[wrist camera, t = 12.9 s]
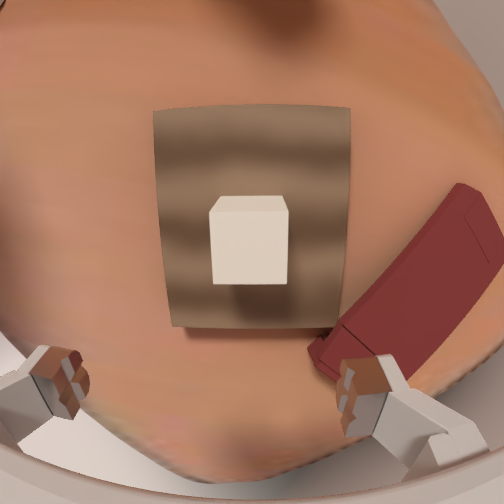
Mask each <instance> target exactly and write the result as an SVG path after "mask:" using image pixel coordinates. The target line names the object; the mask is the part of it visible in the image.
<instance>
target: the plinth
mask: <svg viewBox="0 0 504 504" xmlns="http://www.w3.org/2000/svg"><path fill="white" fill-rule="evenodd" d="M153 125H154V154H155V173H156V189H157V202H158V215H159V226H160V236H161V246H162V255H163V264H164V272H165V280H166V288H167V295H168V302H169V309H170V316H171V322H172V327H191V328H230V329H285V328H324V327H335V325H336V324H337V320H338V312H339V304H340V296H341V287H342V278H343V268H344V258H345V246H346V233H347V219H348V202H349V180H350V132H351V122H350V108H344V107H331V106H314V105H284V104H250V105H220V106H203V107H189V108H178V109H168V110H159V111H153ZM220 196H283V199H284V201H285V204H286V206H287V209H288V211H289V213H288V260H287V284H213V273H212V257H211V240H210V221H209V212H210V210H211V209H212V207H213V206H214V205H215V203H216V202H217V200H218V199H219V198H220Z"/></svg>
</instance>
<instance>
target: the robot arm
mask: <svg viewBox="0 0 504 504" xmlns="http://www.w3.org/2000/svg"><path fill="white" fill-rule="evenodd" d="M3 1H4V0H0V5H1V4H2V3H3ZM82 361H83V360H82V357H81V355H80V353H79V352H78V351H76V350H71V349H65V348H60V347H55V346H49V345H44V344H42V345H39V346H38V347H37V348H36V349H35V350H34V352H33V353H32V354H31V355H30V356H29V357H28V359H27V360H26V361H25V362H24V363H23V365H22V366H21V367H20V368H19V369H18V370H17V371H15V370H14V371H11V372H9V373H7V374H5V375H3V376H1V377H0V504H504V446H503V447H501V448H498V449H496V450H494V451H492V452H490V450H489V448H488V446H487V444H486V443H485V441H484V439H483V437H482V435H481V434H480V432H479V430H478V428H477V427H476V425H475V423H474V422H473V421H471V420H469V419H467V418H466V417H464V416H462V415H460V414H459V413H457V412H455V411H453V410H451V409H450V408H448V407H446V406H445V405H443V404H441V403H439V402H438V401H436V400H434V399H432V398H431V397H429V396H427V395H425V394H424V393H422V392H420V391H419V390H417V389H415V388H413V389H410V387H409V385H408V383H407V382H406V380H405V378H404V376H403V374H402V372H401V370H400V368H399V367H398V365H397V363H396V361H395V359H394V357H393V356H392V355H391V354H386V355H378V356H374V357H363V358H353V359H342V362H341V365H340V369H339V370H340V373H341V378H340V379H339V380H338V381H337V386H336V403H337V408H338V410H339V411H340V412H341V413H343V414H342V418H341V424H342V428H343V432H344V436H345V437H355V436H364V435H371V434H373V435H372V436H373V437H374V438H375V439H377V440H378V441H379V442H380V443H381V444H382V445H383V446H384V447H385V448H386V449H387V450H389V451H390V452H391V453H392V454H393V455H394V456H395V457H396V458H397V459H399V460H400V461H401V462H402V463H403V464H404V465H405V466H406V467H408V468H409V469H410V470H409V471H408V473H407V474H406V476H405V477H404V478H403V480H402V481H401V483H397V484H392V485H388V486H383V487H379V488H374V489H368V490H364V491H357V492H351V493H345V494H337V495H330V496H321V497H312V498H298V499H281V500H280V499H279V500H235V499H234V500H233V499H214V498H202V497H192V496H183V495H175V494H168V493H162V492H155V491H149V490H144V489H139V488H134V487H129V486H125V485H120V484H116V483H112V482H108V481H104V480H100V479H96V478H92V477H89V476H86V475H82V474H79V473H76V472H73V471H70V470H67V469H64V468H61V467H58V466H55V465H53V464H50V463H47V462H44V461H42V460H40V459H37V458H34V457H32V456H30V455H27V454H25V453H23V451H22V450H21V448H20V447H19V446H18V445H17V443H18V442H19V441H21V440H22V439H23V438H25V437H26V436H28V435H29V434H30V433H32V432H33V431H34V430H36V429H37V428H39V427H40V426H41V425H43V424H44V423H45V422H46V421H48V420H49V419H51V418H52V417H53V416H57V417H61V418H65V419H69V420H73V419H74V417H75V416H76V414H77V412H78V410H79V408H80V403H79V401H80V400H82V399H84V398H86V396H87V394H88V392H89V386H90V380H89V375H88V373H87V371H86V370H85V369H84V368H83V367H82V366H81V364H82ZM52 415H53V416H52Z"/></svg>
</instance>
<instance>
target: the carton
mask: <svg viewBox="0 0 504 504" xmlns="http://www.w3.org/2000/svg"><path fill="white" fill-rule="evenodd" d="M503 264H504V237H503V235H502V232H501V230H500V228H499V226H498V224H497V222H496V220H495V218H494V216H493V214H492V212H491V210H490V208H489V206H488V204H487V202H486V201H485V199H484V197H483V195H482V193H481V192H479V191H477V190H475V189H474V188H472V187H470V186H468V185H466V184H461V183H456V185H455V186H454V187H453V189H452V190H451V191H450V193H449V194H448V195H447V197H446V198H445V199H444V201H443V202H442V203H441V205H440V206H439V207H438V208H437V210H436V211H435V212H434V214H433V215H432V216H431V217H430V219H429V220H428V221H427V222H426V224H425V225H424V226H423V227H422V228H421V230H420V231H419V232H418V233H417V235H416V236H415V237H414V238H413V239H412V241H411V242H410V243H409V244H408V245H407V246H406V248H405V249H404V250H403V251H402V252H401V253H400V255H399V256H398V257H397V258H396V259H395V260H394V261H393V263H392V264H391V265H390V266H389V267H388V268H387V269H386V271H385V272H384V273H383V274H382V275H381V276H380V277H379V278H378V279H377V280H376V282H375V283H374V284H373V285H372V286H371V287H370V288H369V289H368V290H367V291H366V292H365V293H364V294H363V295H362V297H361V298H360V299H359V300H358V301H357V302H356V303H355V304H354V305H353V306H352V307H351V308H350V309H349V310H348V311H347V312H346V313H345V314H344V315H343V316H342V317H341V318H340V319H339V321H338V322H337V324H336V325H335V327H334V328H333V330H332V331H331V332H330V334H329V335H328V337H327V338H326V340H325V339H324V338H322V337H321V336H319V337H318V338H317V339H316V340H315V341H314V342H313V343H312V344H311V345H310V346H308V347H307V349H308V351H309V353H310V355H311V357H312V360H313V362H314V364H315V366H316V367H317V368H318V369H319V370H321V371H322V372H323V373H325V374H326V375H327V376H329V377H330V378H331V379H333V380H334V381H335V382H337V381H338V380H339V379H340V378H341V373H340V370H339V369H340V365H341V362H342V359H353V358H363V357H374V356H378V355H386V354H391V355H392V356H393V357H394V359H395V361H396V363H397V365H398V367H399V368H400V370H401V372H402V374H403V376H404V378H405V380H406V381H407V380H408V379H409V378H410V377H411V376H412V375H413V374H414V373H415V372H416V371H417V370H418V369H419V368H420V367H421V366H422V365H423V364H424V363H425V362H426V360H427V359H428V358H429V357H430V356H431V355H432V354H433V353H434V352H435V351H436V350H437V349H438V348H439V346H440V345H441V344H442V343H443V342H444V341H445V340H446V339H447V337H448V336H449V335H450V334H451V333H452V332H453V331H454V329H455V328H456V327H457V326H458V325H459V323H460V322H461V321H462V320H463V319H464V317H465V316H466V315H467V314H468V312H469V311H470V310H471V308H472V307H473V306H474V305H475V303H476V302H477V301H478V299H479V298H480V297H481V295H482V294H483V293H484V291H485V290H486V289H487V287H488V286H489V284H490V283H491V282H492V280H493V279H494V277H495V276H496V274H497V273H498V272H499V270H500V269H501V267H502V266H503Z"/></svg>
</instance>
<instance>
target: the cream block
mask: <svg viewBox="0 0 504 504" xmlns="http://www.w3.org/2000/svg"><path fill="white" fill-rule="evenodd" d="M288 213H289V211H288V209H287V206H286V204H285V201H284V199H283V196H220V198H219V199H218V200H217V202H216V203H215V205H214V206H213V207H212V209H211V210H210V212H209V221H210V240H211V257H212V273H213V284H287V260H288Z"/></svg>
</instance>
